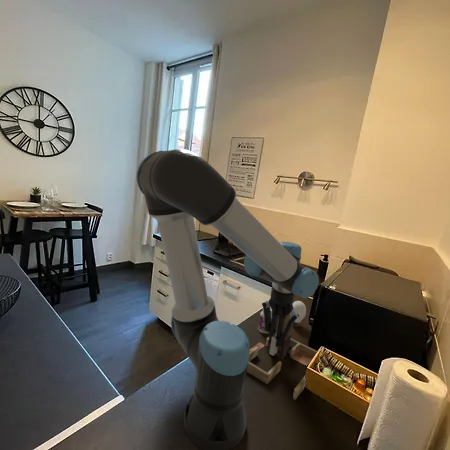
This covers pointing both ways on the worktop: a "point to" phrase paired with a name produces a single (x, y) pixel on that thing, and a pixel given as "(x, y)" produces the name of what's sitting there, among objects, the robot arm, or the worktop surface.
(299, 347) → the tray
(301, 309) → the light bulb
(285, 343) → the box
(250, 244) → the robot arm
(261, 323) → the pill bottle
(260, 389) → the worktop surface
